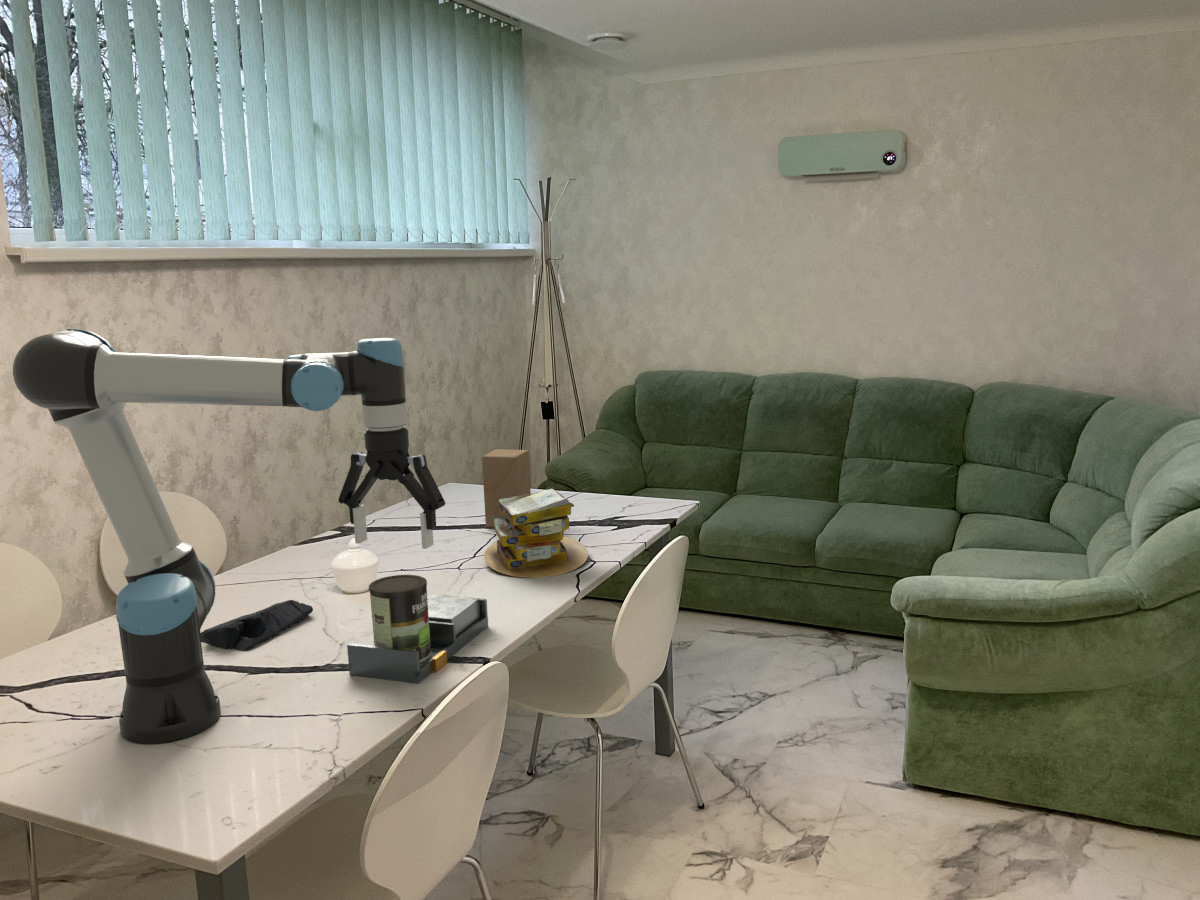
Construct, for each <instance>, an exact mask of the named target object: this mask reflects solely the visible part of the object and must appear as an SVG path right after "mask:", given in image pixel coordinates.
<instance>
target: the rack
mask: <svg viewBox="0 0 1200 900" xmlns="http://www.w3.org/2000/svg"><path fill="white" fill-rule="evenodd" d="M427 601H428V616H429V631H430V644H431V652H432V654H431V656H430V658H429V659H427V660H426V661H424V662H422V663H420V661H419V651H414V650H406V649H397V648H388V647H379V646H374V645H371V644H362V643H361V644H360V643H352V642H349V643H348V644H346V649H347V659H348V660H347V661H348V670H349V671H348V672H349V673H348V674H349V676H355V677H365V678H372V679H379V680H380V679H381V680H388V681H395V682H405V683H410V684H411V683H414V684H420V683H421V682H422V681H424V680H425V679H427V677H429V676H430V675H431V674H432V673H433V672H434V673H437V672H438V671H440V670H441V669H442V668H444V666H446V665H447V664H448V660H449V659H450V658H451V657H453V656H454V655H456V653H458V652H459V651H460V650H461V649H462V648H464V647H465V646H466V645H468V644H469V643H470V642H471V641H472V640H473V639H475V638H476V637H477V636H478V635H480V633H482V632H484V630H486V629H487V628H488V627H489V616H488V600H487V598H480V597H479V598H477V597H467V596H457V595H444V594H434V593H427Z"/></svg>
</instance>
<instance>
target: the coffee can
mask: <svg viewBox="0 0 1200 900" xmlns="http://www.w3.org/2000/svg"><path fill="white" fill-rule="evenodd" d="M427 585H428V581H427V579H426V578H425V577H424V576H420V575H414V574H397V575H390V576H383V577H381V578H378V579H376V580H373V581H372V582H370V583H369V585H368V591H369V596H370V607H371V608H370V609H371V620H372V621H371V623H372V631H373V634H372V635H373V643H374V644H373V646H379V647H388V648H397V649H406V650H414V651H419V661H420V663H422V662H424V661H426V660H427V659H429V658H430V656H431V654H432V652H431V644H430V631H429V616H428V601H427V594H428V591H427V590H428V588H427Z"/></svg>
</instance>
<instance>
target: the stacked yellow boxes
mask: <svg viewBox="0 0 1200 900" xmlns="http://www.w3.org/2000/svg"><path fill="white" fill-rule="evenodd" d="M574 507H575V504H574V503H572V502H570V501H569V499H568V497H565V496H563V495H562V494H561V493H560V492H558V491H557V490H555V489H553V488H549V489H546V490H543V491H539V492H536V493H535V492H533V493H531V494H530V496H529V494H528V495H526V496H525V495H523V496H519V497H518V496H517V497H511V498H508V499H507V498H504V499H500V500H499V510H500V511H499V512H502V513H503V514H504V516H506V517H498V516H494V517H495V518H493V519H494V528H493V531H494V532H495V533H496V536H497V538H498V539H497V540H496V541H495V542H493V543H492V544H490V545H489V546H488V547H487V548H486V550H485V551H484V554H483V560H484V563H485V564H486V565H487V566H488V567H489V568H491V569H493V570H494V571H496V572H498V573H501V574H503V575H508V576H510V577H511V576H512V577H517V578H528V579H530V578H531V579H532V578H534V579H537V578H544V577H546V578H547V577H548V578H549V577H556V576H560V575H565V574H567V573H570V572H572V571H574V570H577V569H578V568H579V567H581V566H582V565H584V563H585V562H586V561H587V559H588V556H589V551H588V549H587V548H586V546H585V545H584V544H583V543H582V542H580V541H578V540H577V539H575V538H572V537H570V536H566V535H564V533H565V531H567V530H569V529H570V517H569V516H570V515H572V508H574ZM492 516H493V515H492Z"/></svg>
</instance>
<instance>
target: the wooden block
mask: <svg viewBox="0 0 1200 900" xmlns="http://www.w3.org/2000/svg"><path fill="white" fill-rule="evenodd" d="M529 453H530V452H529V450H528V449H508V448H507V449H503V448H502V449H501V448H498V449H497V448H496V449H493V450H492V451H490V452H488V453H485V455H484V454H483V455H482V456H481V465H482V481H483V482H482V483H483V496H484V497H483V498H484V500H483V501H484V502H483V503H484V516H485V517H484V520H485V527H486V528H492V529H494V519H493V518H495V517H494V516H498V517H506V516H504V514H503V513H502V512H499V511H500V510H499V500H500V499H504V498H507V499H508V498H511V497H517V496H518V497H519V496H523V495H525V496H526V495H528V494H529V496H530V494H531V475H530V474H531V471H530V454H529ZM492 515H493V516H492Z"/></svg>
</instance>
